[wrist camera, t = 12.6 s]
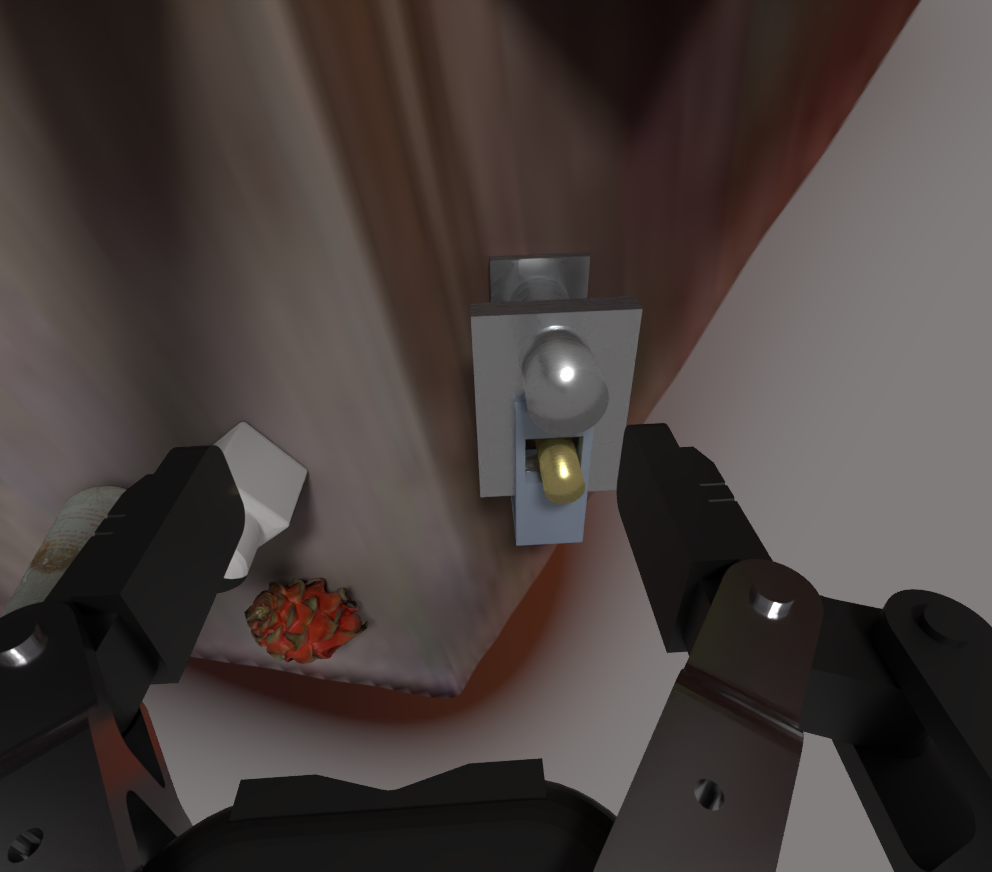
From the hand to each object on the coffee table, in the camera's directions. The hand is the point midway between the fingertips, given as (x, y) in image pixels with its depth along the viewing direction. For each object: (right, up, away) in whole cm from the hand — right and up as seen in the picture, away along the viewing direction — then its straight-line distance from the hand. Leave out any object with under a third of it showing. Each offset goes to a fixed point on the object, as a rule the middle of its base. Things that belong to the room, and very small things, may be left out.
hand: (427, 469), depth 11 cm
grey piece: (+5, +8, +32) cm, 33 cm away
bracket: (+5, +3, +35) cm, 36 cm away
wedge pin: (+5, +5, +34) cm, 35 cm away
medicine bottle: (-20, -2, +37) cm, 43 cm away
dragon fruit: (-18, -16, +48) cm, 53 cm away
